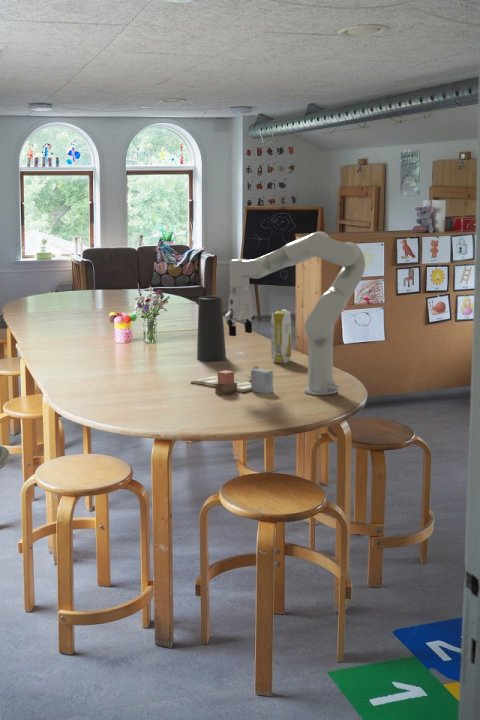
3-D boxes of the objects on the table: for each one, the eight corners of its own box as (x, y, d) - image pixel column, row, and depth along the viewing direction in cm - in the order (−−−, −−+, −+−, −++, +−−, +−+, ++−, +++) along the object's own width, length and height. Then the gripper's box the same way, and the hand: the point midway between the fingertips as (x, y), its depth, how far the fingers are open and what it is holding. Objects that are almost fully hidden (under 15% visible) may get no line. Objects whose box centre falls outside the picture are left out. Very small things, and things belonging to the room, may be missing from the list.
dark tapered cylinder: (231, 358, 414) (230, 297, 408) (207, 362, 406) (205, 300, 401) (215, 354, 425) (214, 294, 419) (191, 358, 418) (189, 297, 412)
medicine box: (273, 392, 346) (273, 370, 345) (266, 394, 343) (265, 372, 341) (258, 389, 352) (258, 368, 350) (251, 391, 348) (250, 370, 347)
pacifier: (267, 382, 365) (262, 378, 371) (267, 367, 364) (262, 364, 370) (250, 383, 363) (246, 380, 369) (250, 368, 362) (246, 365, 368)
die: (234, 382, 346) (233, 371, 345) (226, 384, 343) (226, 373, 342) (225, 381, 349) (225, 370, 348) (217, 383, 346) (217, 371, 345)
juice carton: (287, 364, 400) (286, 311, 395) (270, 363, 402) (269, 310, 398) (292, 360, 409) (292, 308, 404) (276, 359, 411) (275, 308, 406)
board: (265, 387, 355) (265, 384, 354) (243, 393, 345) (243, 390, 345) (212, 378, 374) (212, 375, 374) (191, 383, 364) (191, 380, 364)
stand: (237, 392, 347) (236, 382, 346) (226, 395, 343) (226, 385, 342) (225, 390, 351) (225, 380, 350) (215, 393, 346) (215, 383, 346)
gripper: (231, 293, 337) (232, 338, 340) (261, 289, 350) (262, 332, 353) (217, 292, 342) (218, 336, 345) (247, 287, 354) (248, 330, 358)
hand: (240, 334), depth 349 cm, fingers open, 8 cm apart
